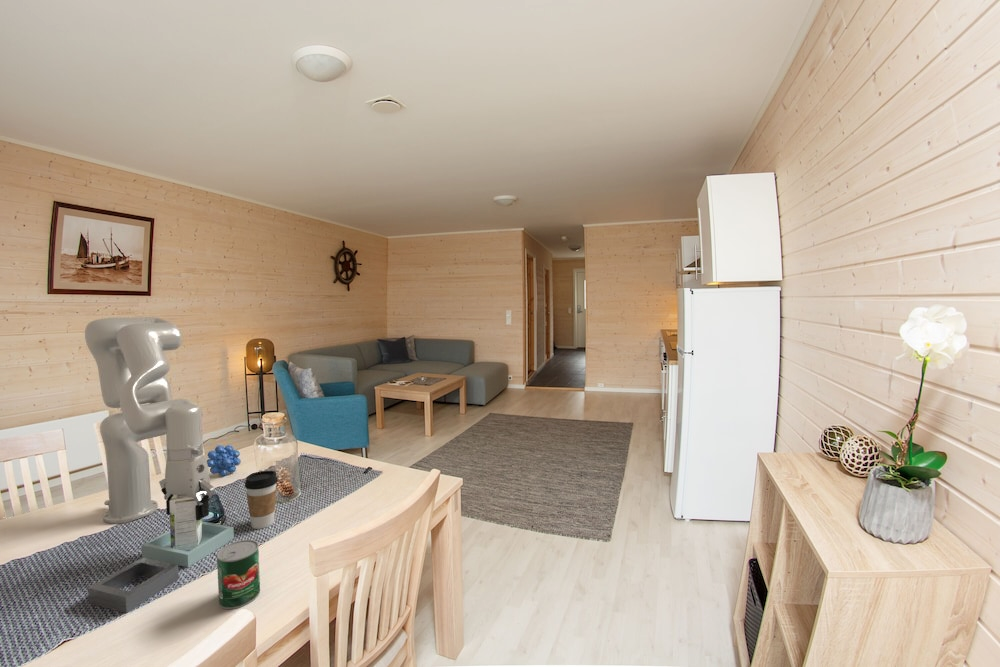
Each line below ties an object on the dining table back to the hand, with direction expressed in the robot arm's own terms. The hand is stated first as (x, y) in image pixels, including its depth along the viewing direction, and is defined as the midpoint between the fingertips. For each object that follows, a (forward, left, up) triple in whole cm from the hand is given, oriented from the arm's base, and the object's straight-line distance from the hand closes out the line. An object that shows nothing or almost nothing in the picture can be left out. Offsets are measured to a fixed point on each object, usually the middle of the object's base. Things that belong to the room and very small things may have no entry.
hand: (188, 514), depth 110 cm
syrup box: (0, -1, -8) cm, 8 cm away
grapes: (-30, +38, -9) cm, 49 cm away
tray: (0, 0, -9) cm, 9 cm away
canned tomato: (+28, -11, -9) cm, 32 cm away
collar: (+4, -16, -9) cm, 19 cm away
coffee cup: (+9, +15, -9) cm, 20 cm away
